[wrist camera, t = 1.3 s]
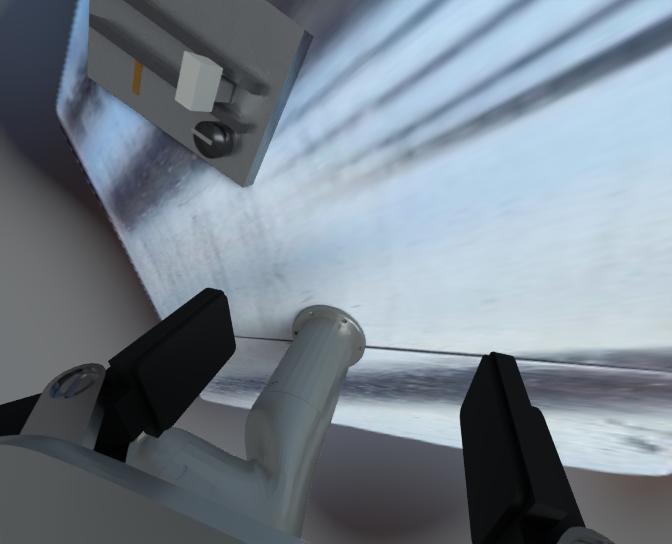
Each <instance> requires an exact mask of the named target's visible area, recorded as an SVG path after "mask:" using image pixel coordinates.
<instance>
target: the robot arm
mask: <svg viewBox="0 0 672 544" xmlns="http://www.w3.org/2000/svg"><path fill="white" fill-rule="evenodd" d="M293 337H294V341H293V342H292V344H291V345H290V347H289V349H288V350H287V352H286V353H285V355H284V357H283V358H282V360H281V361H280V363H279V365H278V366H277V368H276V369H275V371H274V373H273V374H272V376H271V377H270V379H269V381H268V382H267V384H266V385H265V387H264V389H263V390H262V392H261V393H260V395H259V397H258V398H257V400H256V401H255V403H254V405H253V406H252V408H251V410H250V412H249V415H248V418H247V422H246V427H245V445H246V455H247V461H245V460H243V459H241V458H238V457H236V456H233V455H231V454H229V453H228V452H225V451H224V450H222V449H220V448H218V447H216V446H215V445H213V444H211V443H209V442H207V441H206V440H204V439H202V438H200V437H198V436H196V435H195V434H193V433H191V432H189V431H187V430H184V429H181V428H178V427H174V426H173V425H174V424H175V423H176V421H177V420H178V419H179V418H180V417H181V415H182V414H183V413H184V412H185V411H186V409H187V408H188V407H189V406H190V405H191V404H192V402H193V401H194V400H195V399H196V397H197V396H198V395H199V394H200V393H201V392H202V391H203V389H204V388H205V387H206V386H207V385H208V383H209V382H210V381H211V380H212V379H213V377H214V376H215V375H216V374H217V373H218V372H219V370H220V369H221V368H222V367H223V366H224V364H225V363H226V362H227V361H228V360H229V359H230V357H231V356H232V355H233V354H234V352H235V349H236V343H235V338H234V332H233V327H232V321H231V316H230V310H229V305H228V300H227V296H226V295H224V292H223V291H221V290H217V289H213V288H206V289H204V290H203V291H201V292H200V293H199V294H197V295H196V296H195V297H193V298H192V299H191V300H189V301H188V302H187V303H185V304H184V305H183V306H181V307H180V308H179V309H177V310H176V311H175V312H173V313H172V314H171V315H169V316H168V317H167V318H165V319H164V320H163V321H161V322H160V323H159V324H157V325H156V326H155V327H153V328H152V329H151V330H149V331H148V332H147V333H145V334H144V335H143V336H141V337H140V338H138V339H137V340H136V341H134V342H133V343H132V344H130V345H129V346H128V347H126V348H125V349H124V350H123V351H121V352H120V353H118V354H117V355H116V356H114V357H113V358H112V359H110V360H109V361H108V362H109V364H110V366H111V367H109V368H108V369H107V370H105V368H104V366H102V365H100V364H94V363H90V364H83V365H80V366H76V367H74V368H71V369H69V370H67V371H65V372H63V373H62V374H60V375H58V376H57V377H55V378H54V379H53V380H52V381H51V382H50V383H49V384H48V385H47V386H46V388H45V389H44V390H43V392H42V393H40V394H36V395H33V396H30V397H26V398H23V399H20V400H16V401H12V402H9V403H5V404H2V405H0V544H311V543H308V542H306V541H304V540H302V539H301V535H302V530H303V524H304V519H305V513H306V508H307V503H308V499H309V494H310V490H311V485H312V482H313V478H314V474H315V470H316V467H317V464H318V460H319V457H320V454H321V451H322V447H323V445H324V441H325V438H326V435H327V431H328V429H329V426H330V423H331V420H332V417H333V414H334V411H335V408H336V405H337V402H338V399H339V396H340V393H341V390H342V386H343V383H344V380H345V377H346V374H347V371H348V368H349V367H350V366H352V365H354V364H356V363H357V362H358V361H359V360H360V359H361V358H362V356H363V354H364V350H365V346H366V340H365V335H364V333H363V330H362V328H361V327H360V325H359V324H358V323H357V322H356V321H355V320H354V319H353V318H352V317H351V316H350V315H348V314H347V313H345V312H343V311H341V310H339V309H337V308H334V307H329V306H313V307H310V308H307V309H305V310H304V311H302V312H301V313H300V314H299V315H298V317H297V318H296V320H295V322H294V324H293ZM460 425H461V436H462V446H463V456H464V467H465V477H466V487H467V498H468V509H469V518H470V529H471V539H472V543H473V544H615V543H613V542H612V541H611V540H609V539H608V538H607V537H605V536H603V535H601V534H600V533H598V532H596V531H594V530H592V529H588V528H586V527H585V524H584V521H583V519H582V516H581V514H580V511H579V508H578V506H577V503H576V500H575V498H574V495H573V492H572V490H571V487H570V484H569V482H568V479H567V477H566V474H565V471H564V469H563V466H562V463H561V461H560V458H559V455H558V453H557V450H556V448H555V445H554V442H553V440H552V437H551V434H550V432H549V429H548V426H547V424H546V421H545V419H544V416H543V414H542V412H541V411H540V410H539V409H538V408H537V407H534V406H531V403H530V400H529V398H528V395H527V392H526V389H525V386H524V383H523V381H522V378H521V375H520V372H519V369H518V366H517V363H516V361H515V358H514V357H513V356H511V355H506V354H502V353H497V352H491V353H490V355H483V357H482V359H481V362H480V364H479V366H478V369H477V371H476V373H475V376H474V378H473V380H472V383H471V385H470V388H469V390H468V392H467V395H466V397H465V399H464V402H463V404H462V406H461V410H460ZM143 431H144V432H145V434H147V435H145V436H144V437H143V438H141V439H140V440H139V441H138V442H137V439H138V436H139V435H140V434H141V433H142V432H143Z"/></svg>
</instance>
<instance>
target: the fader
mask: <svg viewBox="0 0 672 544" xmlns="http://www.w3.org/2000/svg"><path fill="white" fill-rule="evenodd" d="M222 71H223V68H221V67H220V66H219V65H217V64H216V63H215V62H213V61H212V60H211V59H209V58H207V57H204V56H201V55H197V54H194V53H191V52H187V51H184V55H183V60H182V65H181V70H180V75H179V81H178V86H177V91H176V96H175V100H176V101H177V102H179V103H180V104H181V105H183V106H184V107H185V108H187V109H188V110H190V111H204V112H212V108H213V104H214V101H216V102H225V103H229V101H230V98H231V94H232V91H233V88H234V84H233V83H232V82H230V81H229V80H227V79H226V78H225V77H223V76H222Z"/></svg>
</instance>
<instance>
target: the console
mask: <svg viewBox="0 0 672 544" xmlns="http://www.w3.org/2000/svg"><path fill="white" fill-rule="evenodd" d="M313 37H314V36H312V35H311V34H310V33H308V32H307V31H306V30H305V29H303V28H302V27H301V26H299V25H298V24H297V23H295V22H294V21H293V20H291V19H290V18H288V17H287V16H286V15H284V14H283V13H282V12H280V11H279V10H278V9H276V8H275V7H274V6H272V5H271V4H270V3H268V2H267V1H266V0H90V3H89V40H88V77H89V78H91V79H92V80H93V81H95V82H96V83H98V84H99V85H100V86H102V87H103V88H105V89H106V90H107V91H109V92H110V93H112V94H113V95H114V96H116V97H117V98H119V99H120V100H121V101H123V102H124V103H126V104H127V105H128V106H130V107H131V108H133V109H134V110H135V111H137V112H138V113H140V114H141V115H142V116H144V117H145V118H147V119H148V120H149V121H151V122H152V123H154V124H155V125H156V126H158V127H159V128H161V129H162V130H163V131H165V132H166V133H168V134H169V135H170V136H172V137H173V138H175V139H176V140H177V141H179V142H180V143H182V144H183V145H184V146H186V147H187V148H189V149H190V150H191V151H193V152H194V153H196V154H197V155H198V156H200V157H201V158H203V159H204V160H205V161H207V162H208V163H210V164H211V165H212V166H214V167H215V168H217V169H218V170H219V171H221V172H222V173H224V174H225V175H226V176H228V177H229V178H231V179H232V180H233V181H235V182H236V183H238V184H239V185H240V186H242V187H246V186H249V185H252V184H253V183H254V181H255V178H256V176H257V173H258V171H259V169H260V166H261V164H262V161H263V159H264V156H265V154H266V151H267V149H268V147H269V144H270V142H271V139H272V137H273V134H274V132H275V130H276V127H277V125H278V122H279V120H280V117H281V115H282V112H283V110H284V108H285V105H286V103H287V100H288V98H289V95H290V93H291V90H292V88H293V86H294V83H295V81H296V78H297V76H298V73H299V71H300V68H301V66H302V64H303V61H304V59H305V56H306V54H307V51H308V49H309V46H310V44H311V42H312V39H313ZM184 51H187V52H191V53H194V54H197V55H201V56H204V57H207V58H209V59H211V60H212V61H213V62H215V63H216V64H217V65H219V66H220V67H221V68H223V71H222V76H223V77H225V78H226V79H227V80H229V81H230V82H232V83H233V84H234V88H233V91H232V94H231V98H230V101H229V103H225V102H216V101H214V104H213V108H212V112H204V111H190V110H188V109H187V108H185V107H184V106H183V105H181V104H180V103H179V102H177V101H176V100H175V96H176V91H177V86H178V81H179V75H180V70H181V65H182V60H183V55H184Z"/></svg>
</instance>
